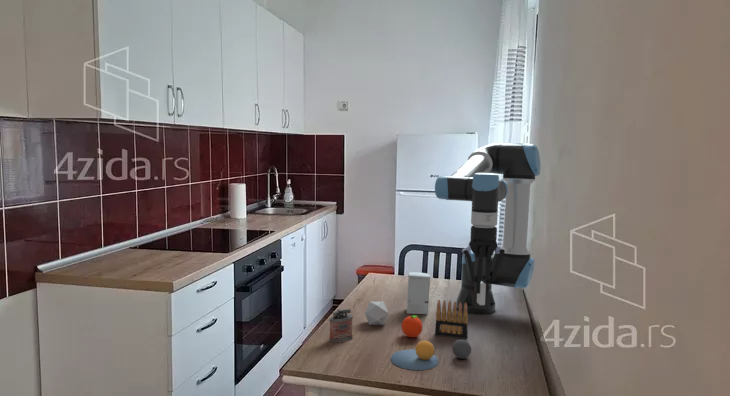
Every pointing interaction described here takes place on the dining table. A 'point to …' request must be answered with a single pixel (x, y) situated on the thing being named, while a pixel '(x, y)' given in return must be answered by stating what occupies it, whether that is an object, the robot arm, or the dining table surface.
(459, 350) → the dark grey sphere
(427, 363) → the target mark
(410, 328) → the clementine
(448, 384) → the dining table surface
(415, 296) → the skincare box
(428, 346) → the orange ball
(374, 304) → the die
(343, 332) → the lighter
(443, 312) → the ammunition clip
